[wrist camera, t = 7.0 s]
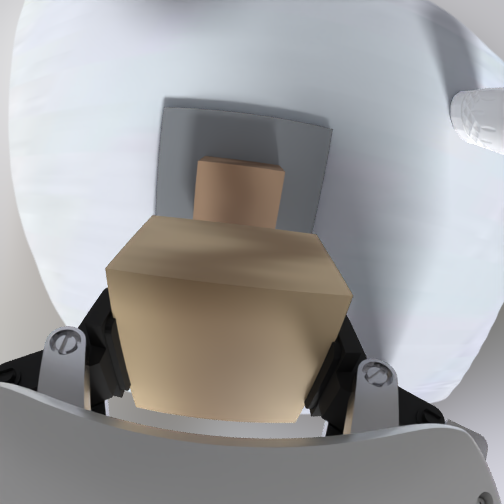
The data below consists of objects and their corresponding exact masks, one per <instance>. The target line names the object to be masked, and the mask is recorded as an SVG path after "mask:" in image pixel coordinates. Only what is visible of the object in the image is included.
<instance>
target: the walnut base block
mask: <svg viewBox="0 0 504 504" xmlns="http://www.w3.org/2000/svg"><path fill="white" fill-rule="evenodd" d="M284 176H285V171H284V170H283V169H282V168H281V167H280V166H279V165H273V164H267V163H260V162H252V161H245V160H237V159H228V158H219V157H209V156H204V157H203V158H201V159H200V160H199V161H198V166H197V176H196V187H195V198H194V211H193V219H194V220H203V221H212V222H221V223H230V224H238V225H247V226H255V227H263V228H271V229H275V227H276V221H277V216H278V210H279V204H280V199H281V193H282V187H283V182H284Z"/></svg>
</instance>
